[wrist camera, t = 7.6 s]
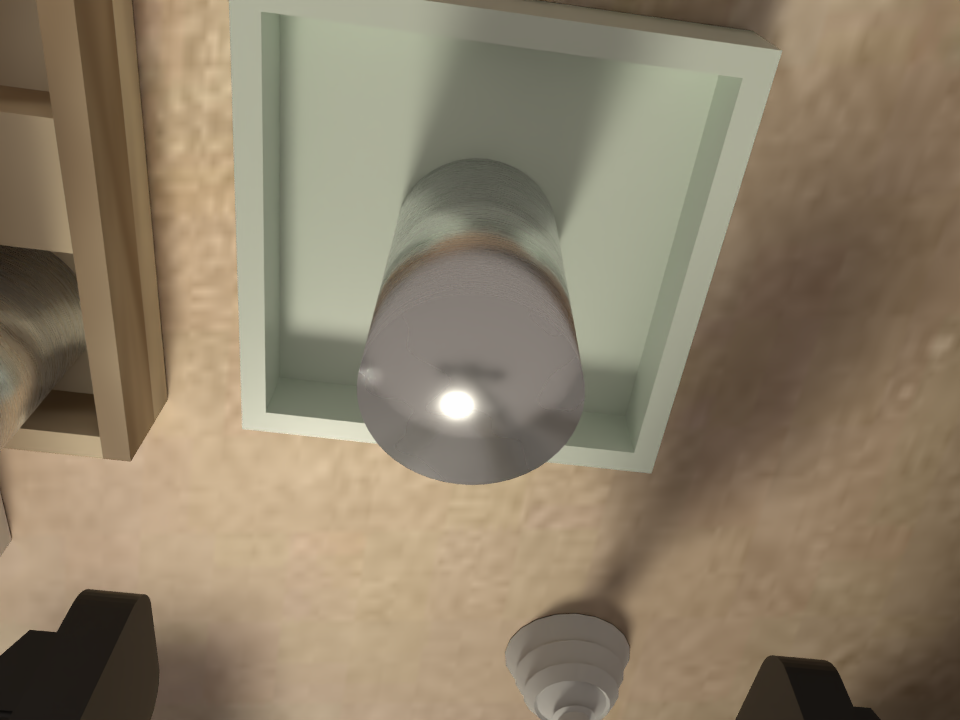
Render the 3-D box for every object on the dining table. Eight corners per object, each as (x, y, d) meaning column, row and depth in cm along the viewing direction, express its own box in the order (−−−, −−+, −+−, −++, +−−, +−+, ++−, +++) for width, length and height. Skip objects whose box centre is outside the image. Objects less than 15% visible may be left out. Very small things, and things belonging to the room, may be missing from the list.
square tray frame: (751, 30, 20) (782, 50, 18) (638, 425, 27) (651, 473, 25) (256, -40, 20) (227, -28, 18) (262, 382, 26) (242, 429, 24)
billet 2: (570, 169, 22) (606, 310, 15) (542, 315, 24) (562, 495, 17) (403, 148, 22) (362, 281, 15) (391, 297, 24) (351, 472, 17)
